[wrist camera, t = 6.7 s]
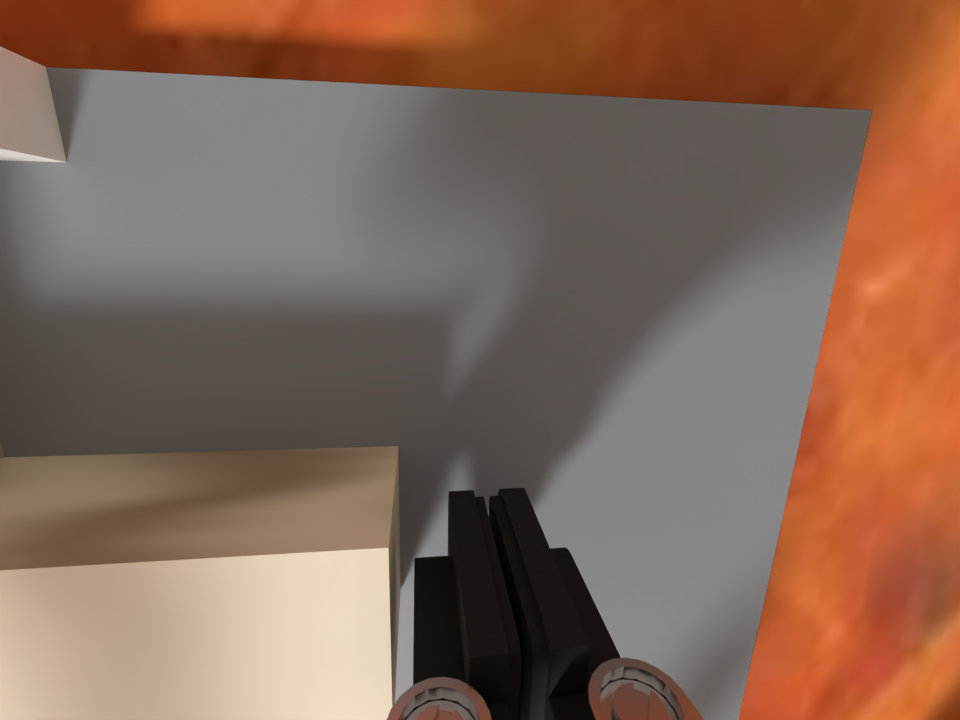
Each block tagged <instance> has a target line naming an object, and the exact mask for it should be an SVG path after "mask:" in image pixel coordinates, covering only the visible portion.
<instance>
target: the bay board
mask: <svg viewBox="0 0 960 720" xmlns="http://www.w3.org/2000/svg"><path fill="white" fill-rule="evenodd" d="M871 114H872V110H857V109H838V108H819V107H800V106H781V105H762V104H743V103H724V102H705V101H686V100H667V99H648V98H629V97H610V96H590V95H571V94H552V93H533V92H514V91H495V90H476V89H457V88H438V87H419V86H400V85H381V84H362V83H343V82H324V81H305V80H285V79H266V78H247V77H228V76H209V75H190V74H171V73H152V72H133V71H114V70H95V69H76V68H57V67H45V66H43V65H40V64H38V63H36V62H34V61H32V60H29V59H27V58H25V57H23V56H21V55H18V54H16V53H14V52H12V51H9V50H7V49H5V48H3V47H1V46H0V443H1V447H2V450H3V454H4V457H33V456H69V455H104V454H140V453H175V452H211V451H246V450H281V449H317V448H352V447H388V446H398V456H399V518H400V580H401V593H400V612H399V632H398V651H397V671H396V690H395V703H396V701H397V700H398V698H399V697H400V696H401V695H402V694H403V693H404V692H405V691H407V690H408V689H409V688H410V687H412V686H413V642H414V560H415V558H420V557H435V556H448V493H449V491H464V490H474V493H475V497H480V496H483V497H484V500H485V504H486V508H487V512H488V516H489V499H490V496H498V490H499V489H503V488H525V490H526V492H527V495H528V497H529V500H530V502H531V504H532V507H533V509H534V511H535V514H536V516H537V519H538V521H539V523H540V526H541V528H542V530H543V533H544V535H545V538H546V540H547V542H548V545H549V547H550V548H563V547H565V548H567V549H568V550H569V551H570V553H571V555H572V557H573V559H574V561H575V563H576V565H577V567H578V569H579V571H580V573H581V576H582V578H583V580H584V582H585V584H586V586H587V588H588V590H589V592H590V594H591V596H592V598H593V601H594V603H595V605H596V607H597V609H598V611H599V613H600V615H601V617H602V619H603V621H604V623H605V626H606V628H607V630H608V632H609V634H610V636H611V638H612V640H613V642H614V644H615V646H616V649H617V651H618V653H619V655H620V657H621V658H625V657H626V658H632V659H637V660H642V661H644V662H646V663H648V664H651V665H653V666H655V667H657V668H658V669H660V670H661V671H663V672H664V673H665V674H667V675H668V676H670V677H671V678H672V679H673V680H674V682H675V683H676V684H677V685H678V686H679V687H680V688H681V689H682V690H683V691H684V693H685V694H686V696H687V697H688V698H689V700H690V701H691V702H692V704H693V705H694V706H695V708H696V709H697V710H698V712H699V713H700V715H701V716H702V717H703V719H704V720H738V718H739V714H740V709H741V705H742V700H743V696H744V691H745V687H746V682H747V677H748V673H749V668H750V664H751V659H752V655H753V650H754V646H755V641H756V637H757V632H758V627H759V623H760V618H761V614H762V609H763V605H764V600H765V596H766V591H767V587H768V582H769V578H770V573H771V568H772V564H773V559H774V555H775V550H776V546H777V541H778V537H779V532H780V528H781V523H782V518H783V514H784V509H785V505H786V500H787V496H788V491H789V487H790V482H791V478H792V473H793V468H794V464H795V459H796V455H797V450H798V446H799V441H800V437H801V432H802V428H803V423H804V419H805V414H806V409H807V405H808V400H809V396H810V391H811V387H812V382H813V378H814V373H815V369H816V364H817V359H818V355H819V350H820V346H821V341H822V337H823V332H824V328H825V323H826V319H827V314H828V309H829V305H830V300H831V296H832V291H833V287H834V282H835V278H836V273H837V269H838V264H839V259H840V255H841V250H842V246H843V241H844V237H845V232H846V228H847V223H848V219H849V214H850V210H851V205H852V200H853V196H854V191H855V187H856V182H857V178H858V173H859V169H860V164H861V160H862V155H863V150H864V146H865V141H866V137H867V132H868V128H869V123H870V119H871Z"/></svg>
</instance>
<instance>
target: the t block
mask: <svg viewBox="0 0 960 720" xmlns="http://www.w3.org/2000/svg"><path fill="white" fill-rule="evenodd" d="M400 593H401V580H400V518H399V456H398V446H388V447H352V448H317V449H281V450H246V451H211V452H175V453H140V454H104V455H69V456H33V457H4V454H3V450H2V447H1V443H0V720H387V718H388V715H389V712H390V710H391V708H392V707H393V705H394V704H395V690H396V671H397V651H398V632H399V612H400Z"/></svg>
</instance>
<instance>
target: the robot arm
mask: <svg viewBox="0 0 960 720" xmlns="http://www.w3.org/2000/svg"><path fill="white" fill-rule="evenodd" d="M387 720H704V719H703V717H702V716H701V715H700V713H699V712H698V710H697V709H696V708H695V706H694V705H693V704H692V702H691V701H690V700H689V698H688V697H687V696H686V694H685V693H684V691H683V690H682V689H681V688H680V687H679V686H678V685H677V684H676V683H675V682H674V680H673V679H672V678H671V677H670V676H668V675H667V674H665V673H664V672H663V671H661V670H660V669H658V668H657V667H655V666H653V665H651V664H648V663H646V662H644V661H642V660H637V659H632V658H626V657H625V658H621V657H620V655H619V653H618V651H617V649H616V646H615V644H614V642H613V640H612V638H611V636H610V634H609V632H608V630H607V628H606V626H605V623H604V621H603V619H602V617H601V615H600V613H599V611H598V609H597V607H596V605H595V603H594V601H593V598H592V596H591V594H590V592H589V590H588V588H587V586H586V584H585V582H584V580H583V578H582V576H581V573H580V571H579V569H578V567H577V565H576V563H575V561H574V559H573V557H572V555H571V553H570V551H569V550H568V549H567V548H565V547H563V548H550V547H549V545H548V542H547V540H546V538H545V535H544V533H543V530H542V528H541V526H540V523H539V521H538V519H537V516H536V514H535V511H534V509H533V507H532V504H531V502H530V500H529V497H528V495H527V492H526V490H525V488H503V489H499V490H498V496H490V499H489V516H488V512H487V508H486V504H485V500H484V497H483V496H480V497H475V493H474V490H464V491H449V493H448V556H435V557H420V558H415V560H414V642H413V686H412V687H410V688H409V689H408V690H407V691H405V692H404V693H403V694H402V695H401V696H400V697H399V698H398V700H397V701H396V703H395V704H394V705H393V707H392V708H391V710H390V712H389V715H388V718H387Z"/></svg>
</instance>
